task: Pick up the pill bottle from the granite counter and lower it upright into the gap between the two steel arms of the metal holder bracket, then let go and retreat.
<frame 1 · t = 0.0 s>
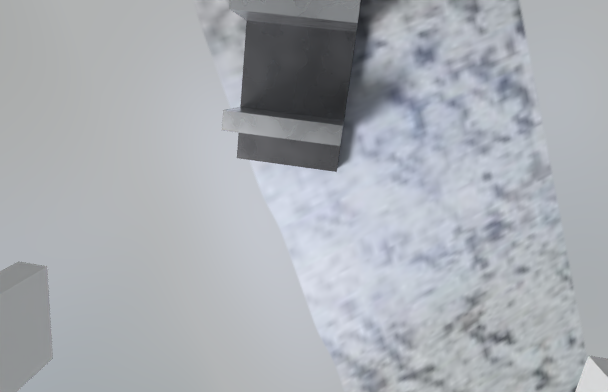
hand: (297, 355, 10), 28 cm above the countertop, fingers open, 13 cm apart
holder: (298, 71, 35), on the countertop
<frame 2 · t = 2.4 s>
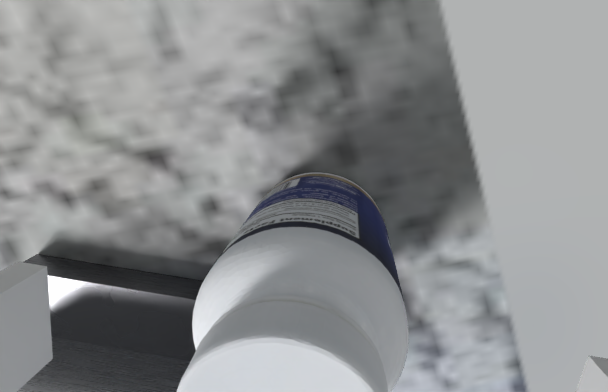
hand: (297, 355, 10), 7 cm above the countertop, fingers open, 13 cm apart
pill bottle: (319, 231, 17), on the countertop
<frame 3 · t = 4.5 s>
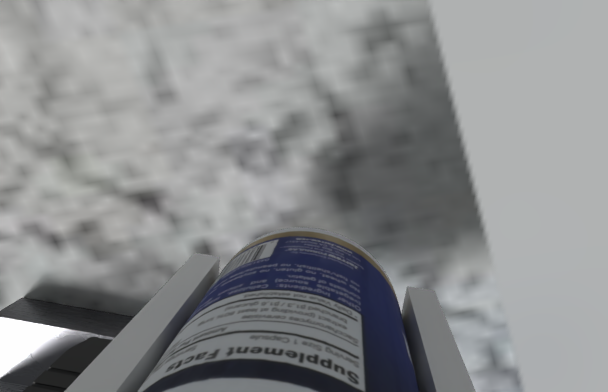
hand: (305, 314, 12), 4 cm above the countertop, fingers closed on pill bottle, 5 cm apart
pill bottle: (307, 303, 12), point 3 cm above the countertop, touching gripper
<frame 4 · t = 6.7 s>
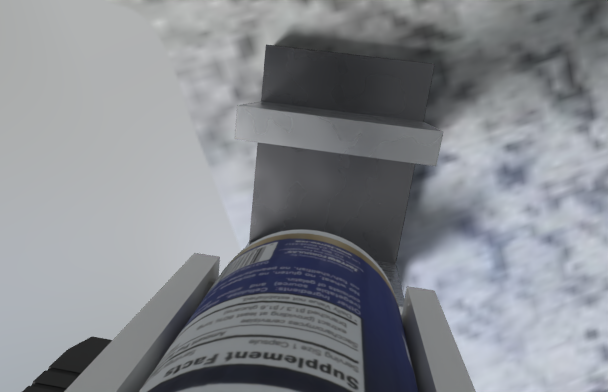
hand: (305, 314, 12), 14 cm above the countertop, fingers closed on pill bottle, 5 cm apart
pill bottle: (307, 305, 12), point 13 cm above the countertop, touching gripper
holder: (330, 191, 25), on the countertop
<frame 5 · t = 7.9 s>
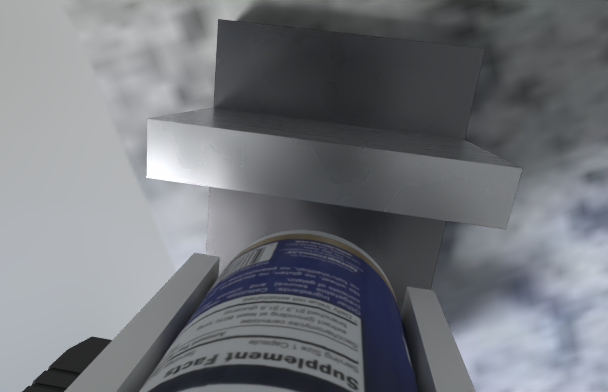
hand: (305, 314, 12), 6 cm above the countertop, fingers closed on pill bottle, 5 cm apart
pill bottle: (307, 306, 12), point 5 cm above the countertop, touching gripper
holder: (321, 237, 17), on the countertop
when the fingers open (3 cm above the countertop, at t = 8.8 s): pill bottle stays where it is, resting on holder.
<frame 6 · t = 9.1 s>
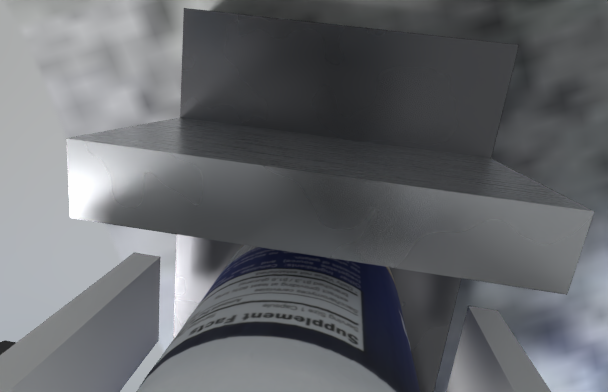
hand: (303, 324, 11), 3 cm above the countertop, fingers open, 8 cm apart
pill bottle: (312, 289, 13), point 1 cm above the countertop, touching holder
holder: (314, 271, 14), on the countertop
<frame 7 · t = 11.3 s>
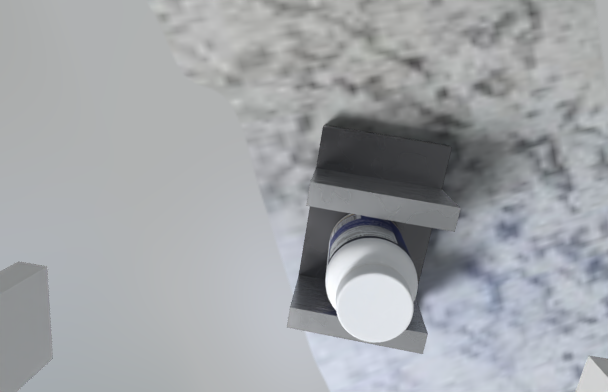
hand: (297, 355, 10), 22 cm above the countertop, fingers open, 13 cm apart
pill bottle: (365, 242, 30), point 1 cm above the countertop, touching holder
holder: (364, 236, 32), on the countertop
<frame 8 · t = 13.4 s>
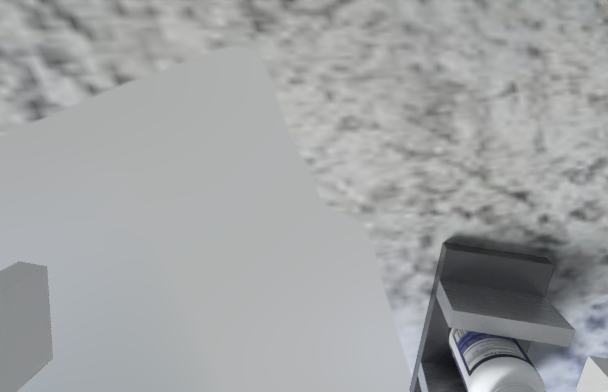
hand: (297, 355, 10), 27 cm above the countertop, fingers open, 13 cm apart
pill bottle: (478, 336, 37), point 1 cm above the countertop, touching holder
holder: (473, 328, 38), on the countertop
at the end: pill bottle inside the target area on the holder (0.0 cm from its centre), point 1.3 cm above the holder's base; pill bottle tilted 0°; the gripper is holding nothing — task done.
